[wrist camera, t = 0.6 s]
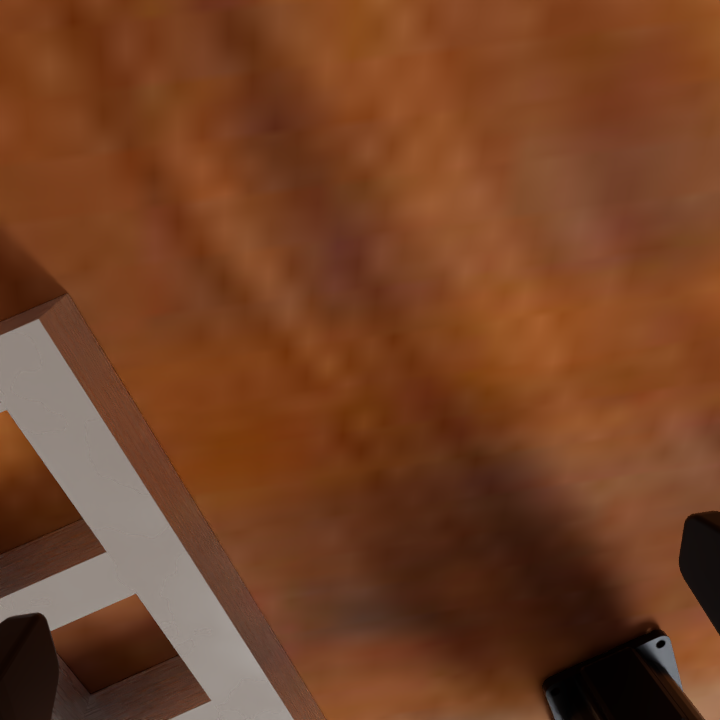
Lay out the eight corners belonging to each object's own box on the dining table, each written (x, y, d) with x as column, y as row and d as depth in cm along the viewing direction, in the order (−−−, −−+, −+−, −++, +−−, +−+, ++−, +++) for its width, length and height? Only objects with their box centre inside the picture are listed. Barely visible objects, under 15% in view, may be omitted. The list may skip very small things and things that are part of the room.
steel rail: (348, 756, 29) (358, 822, 26) (153, 844, 29) (143, 919, 26) (68, 293, 20) (38, 318, 17) (-223, 417, 20) (-301, 463, 17)
